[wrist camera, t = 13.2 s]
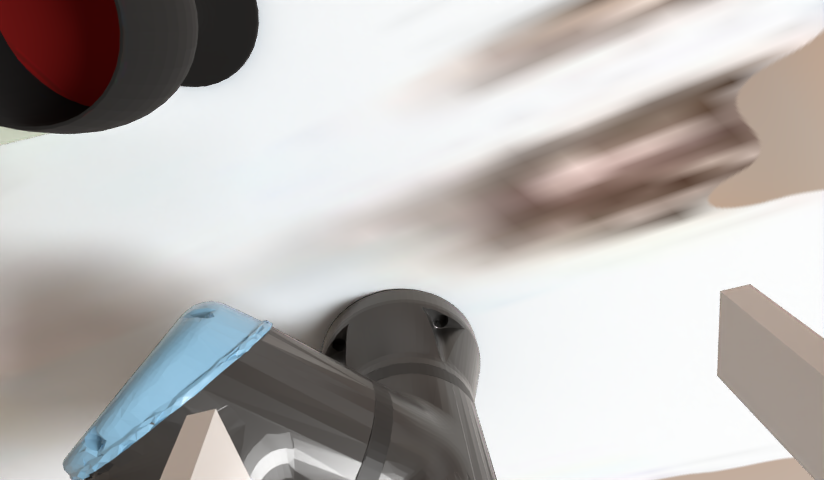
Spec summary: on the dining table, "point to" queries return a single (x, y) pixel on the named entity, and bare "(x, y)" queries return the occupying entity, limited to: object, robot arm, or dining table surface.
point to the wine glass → (113, 57)
